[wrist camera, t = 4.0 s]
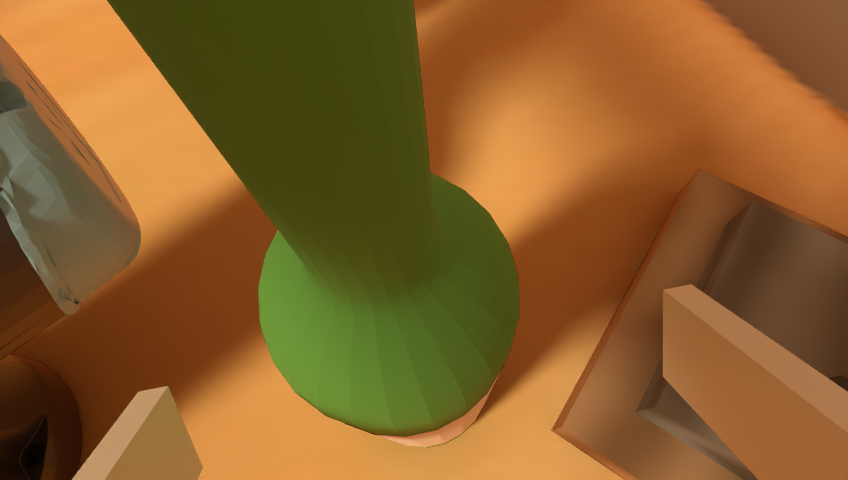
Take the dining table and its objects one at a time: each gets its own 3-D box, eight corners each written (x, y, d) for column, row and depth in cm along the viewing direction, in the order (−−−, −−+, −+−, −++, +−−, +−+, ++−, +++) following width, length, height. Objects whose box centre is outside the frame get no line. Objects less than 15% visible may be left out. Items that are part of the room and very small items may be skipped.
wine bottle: (510, 376, 31) (933, -265, 4) (431, 478, 29) (-34, 822, 1) (419, 301, 33) (261, -418, 6) (340, 389, 31) (-465, -112, 4)
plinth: (551, 430, 29) (573, 423, 24) (680, 191, 36) (721, 142, 30) (914, 674, 24) (1052, 738, 18) (991, 339, 30) (1110, 312, 25)
